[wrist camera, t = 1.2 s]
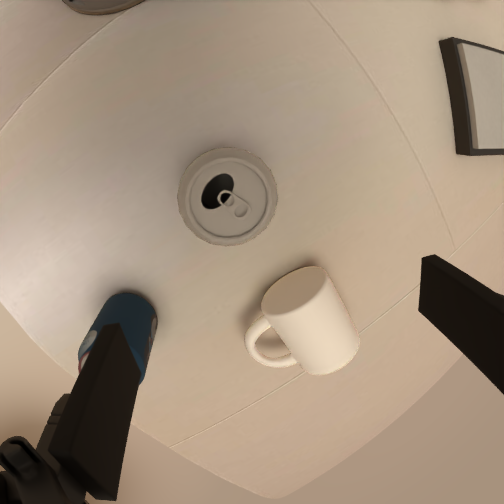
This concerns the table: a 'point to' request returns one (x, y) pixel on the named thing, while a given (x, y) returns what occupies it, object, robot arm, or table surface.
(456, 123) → the scale
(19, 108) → the table surface
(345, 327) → the white coffee cup
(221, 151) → the can
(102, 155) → the table surface
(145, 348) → the soda can
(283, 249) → the table surface
